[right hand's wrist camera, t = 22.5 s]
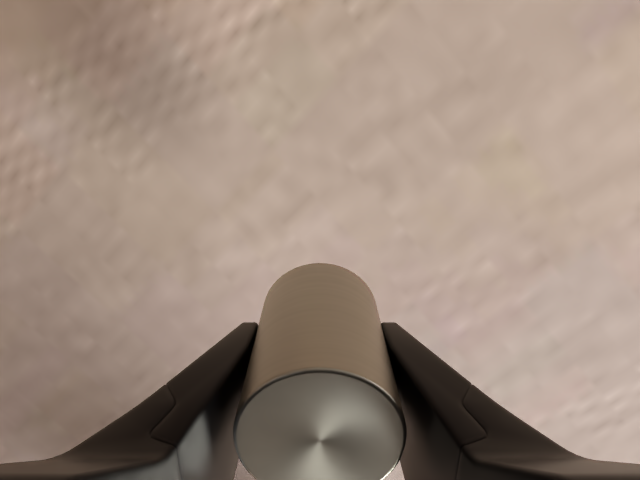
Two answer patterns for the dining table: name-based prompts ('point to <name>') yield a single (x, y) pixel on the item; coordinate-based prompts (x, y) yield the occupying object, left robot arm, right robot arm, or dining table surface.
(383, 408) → the canister
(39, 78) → the dining table surface
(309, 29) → the dining table surface
